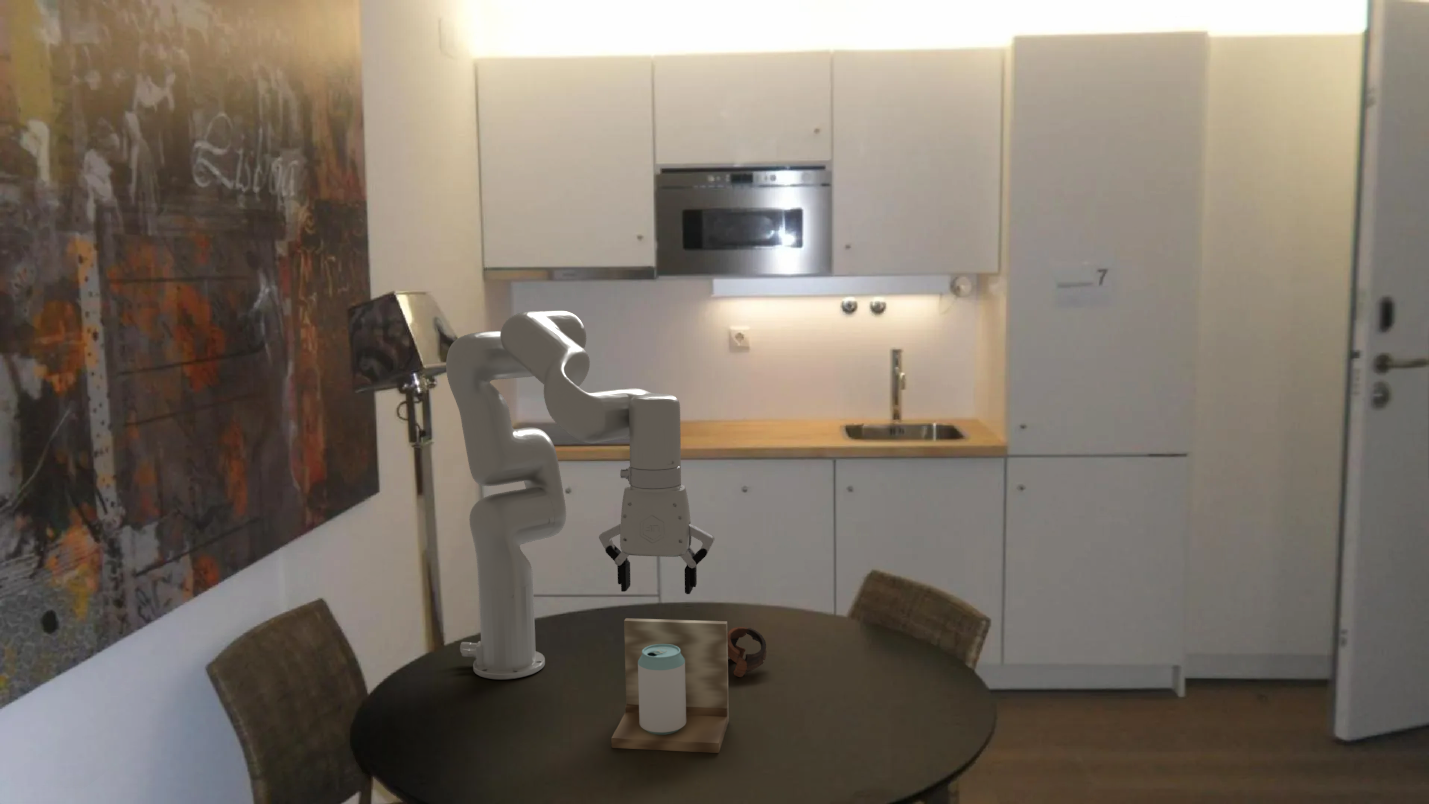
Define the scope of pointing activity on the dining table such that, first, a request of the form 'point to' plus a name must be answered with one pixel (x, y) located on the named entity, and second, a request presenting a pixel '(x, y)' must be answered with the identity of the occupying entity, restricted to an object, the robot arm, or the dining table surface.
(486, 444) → the robot arm
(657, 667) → the can
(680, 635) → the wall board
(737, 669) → the vr controller
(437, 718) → the dining table surface
